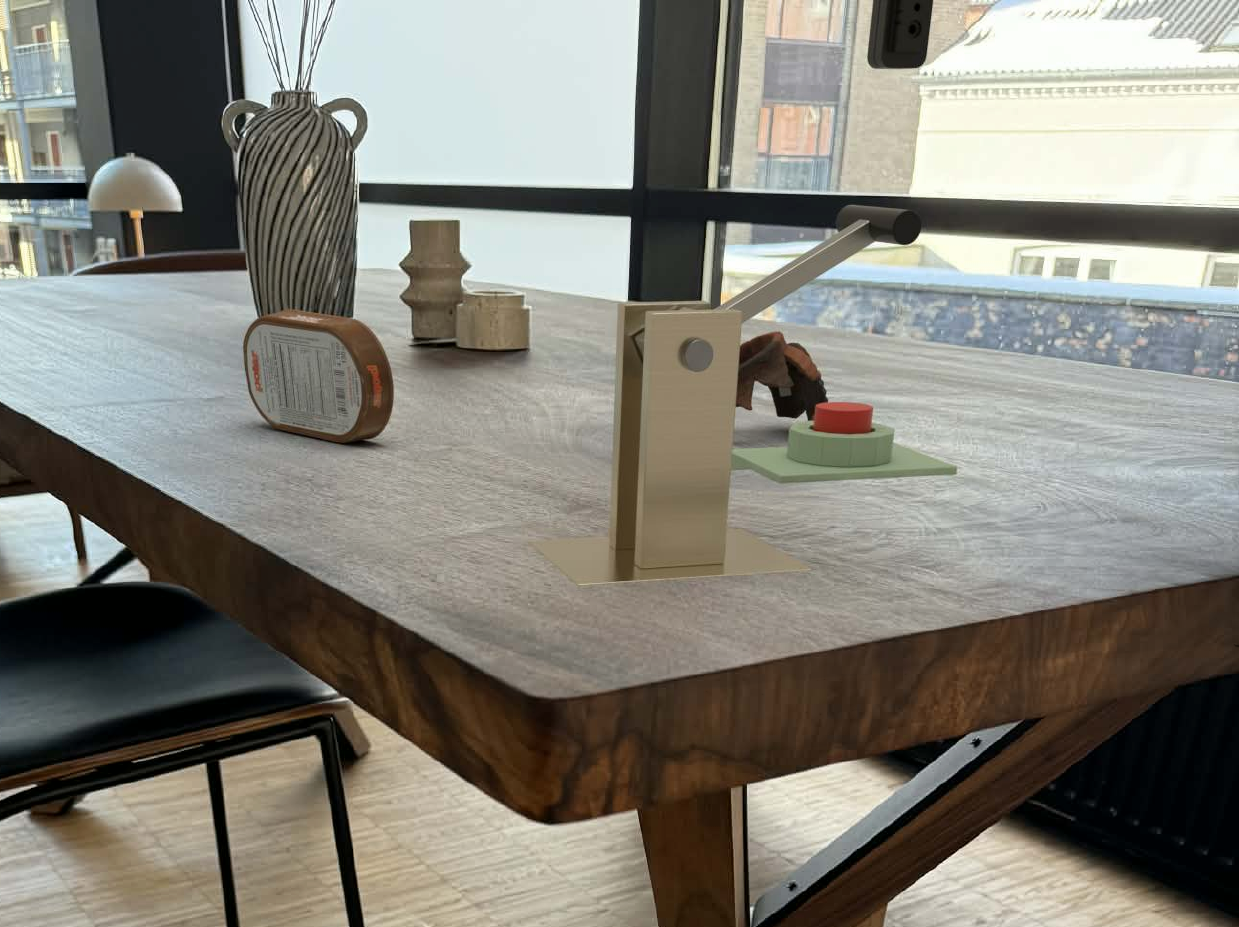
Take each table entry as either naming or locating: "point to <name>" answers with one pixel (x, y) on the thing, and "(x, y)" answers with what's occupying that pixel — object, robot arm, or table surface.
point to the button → (843, 418)
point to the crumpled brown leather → (780, 375)
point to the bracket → (671, 456)
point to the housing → (838, 457)
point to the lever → (825, 256)
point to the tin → (318, 375)
